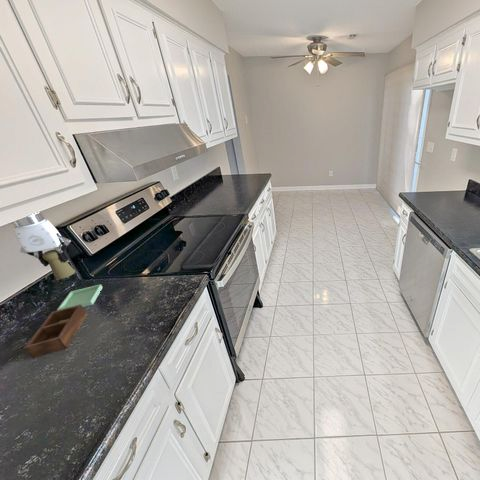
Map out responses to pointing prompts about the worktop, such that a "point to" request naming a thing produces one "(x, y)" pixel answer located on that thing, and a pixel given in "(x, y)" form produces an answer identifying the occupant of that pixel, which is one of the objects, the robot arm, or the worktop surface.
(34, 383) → the worktop surface
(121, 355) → the worktop surface
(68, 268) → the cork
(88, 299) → the tray
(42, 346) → the caddy
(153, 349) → the worktop surface
